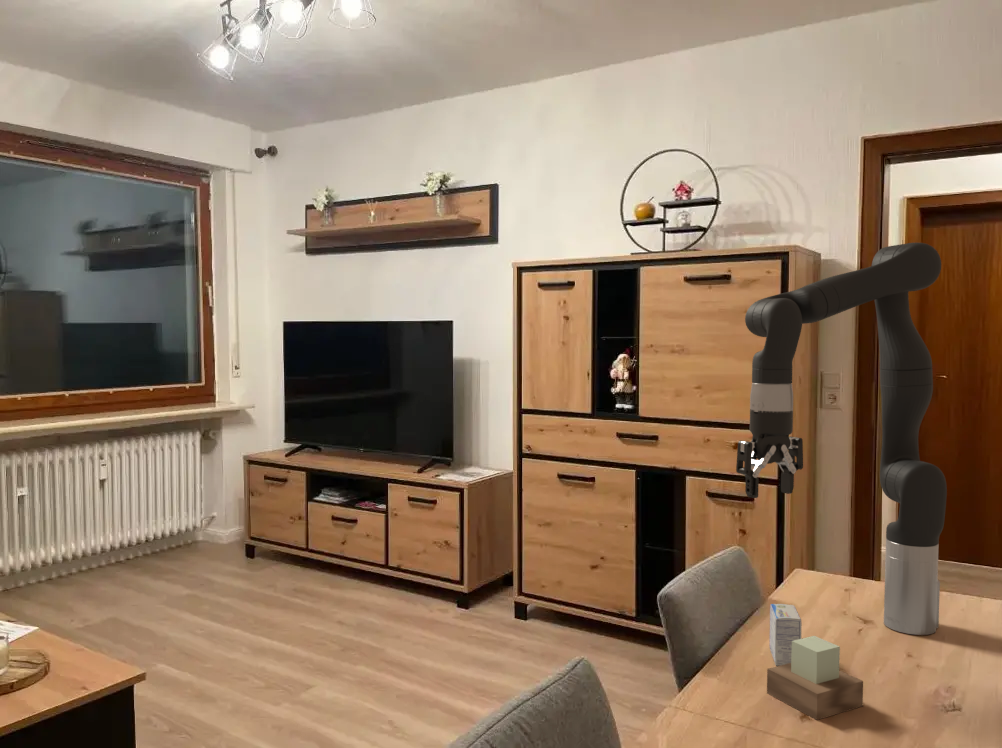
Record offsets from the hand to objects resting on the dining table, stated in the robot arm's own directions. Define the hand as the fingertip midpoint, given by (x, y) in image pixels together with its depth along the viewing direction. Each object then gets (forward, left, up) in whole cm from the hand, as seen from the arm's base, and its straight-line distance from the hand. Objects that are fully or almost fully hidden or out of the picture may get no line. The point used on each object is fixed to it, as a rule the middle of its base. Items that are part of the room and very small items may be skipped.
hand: (769, 495), depth 147 cm
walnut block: (+10, +20, -28) cm, 36 cm away
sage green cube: (+10, +20, -24) cm, 33 cm away
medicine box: (+2, +6, -28) cm, 29 cm away
